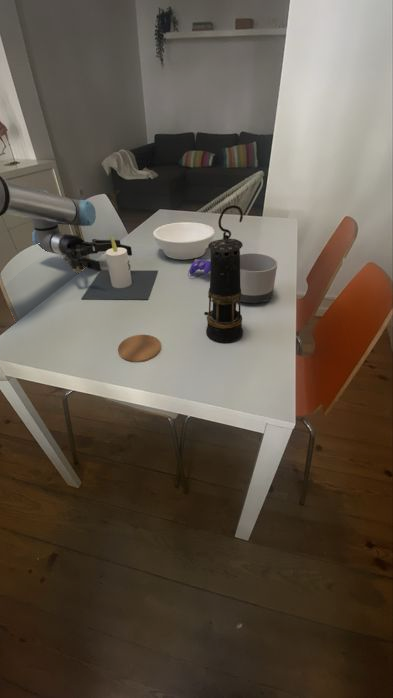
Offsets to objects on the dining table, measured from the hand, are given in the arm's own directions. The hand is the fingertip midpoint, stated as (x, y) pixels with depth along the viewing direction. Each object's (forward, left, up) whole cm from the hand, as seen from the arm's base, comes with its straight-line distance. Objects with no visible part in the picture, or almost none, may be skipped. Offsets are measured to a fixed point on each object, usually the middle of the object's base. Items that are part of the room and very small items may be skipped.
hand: (115, 258), depth 96 cm
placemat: (+1, 0, -8) cm, 8 cm away
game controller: (+27, +6, -9) cm, 29 cm away
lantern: (+33, -26, -9) cm, 43 cm away
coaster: (+13, -33, -8) cm, 37 cm away
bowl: (+19, +26, -9) cm, 33 cm away
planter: (+41, -7, -9) cm, 42 cm away
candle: (+1, 0, -8) cm, 8 cm away
